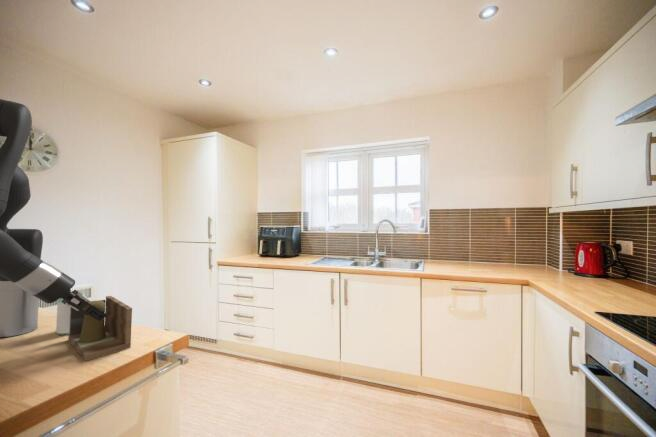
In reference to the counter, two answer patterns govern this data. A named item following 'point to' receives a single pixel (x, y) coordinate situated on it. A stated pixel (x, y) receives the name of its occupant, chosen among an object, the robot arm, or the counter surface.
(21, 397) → the counter surface
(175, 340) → the counter surface
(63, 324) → the can
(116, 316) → the shelf
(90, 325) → the cork
